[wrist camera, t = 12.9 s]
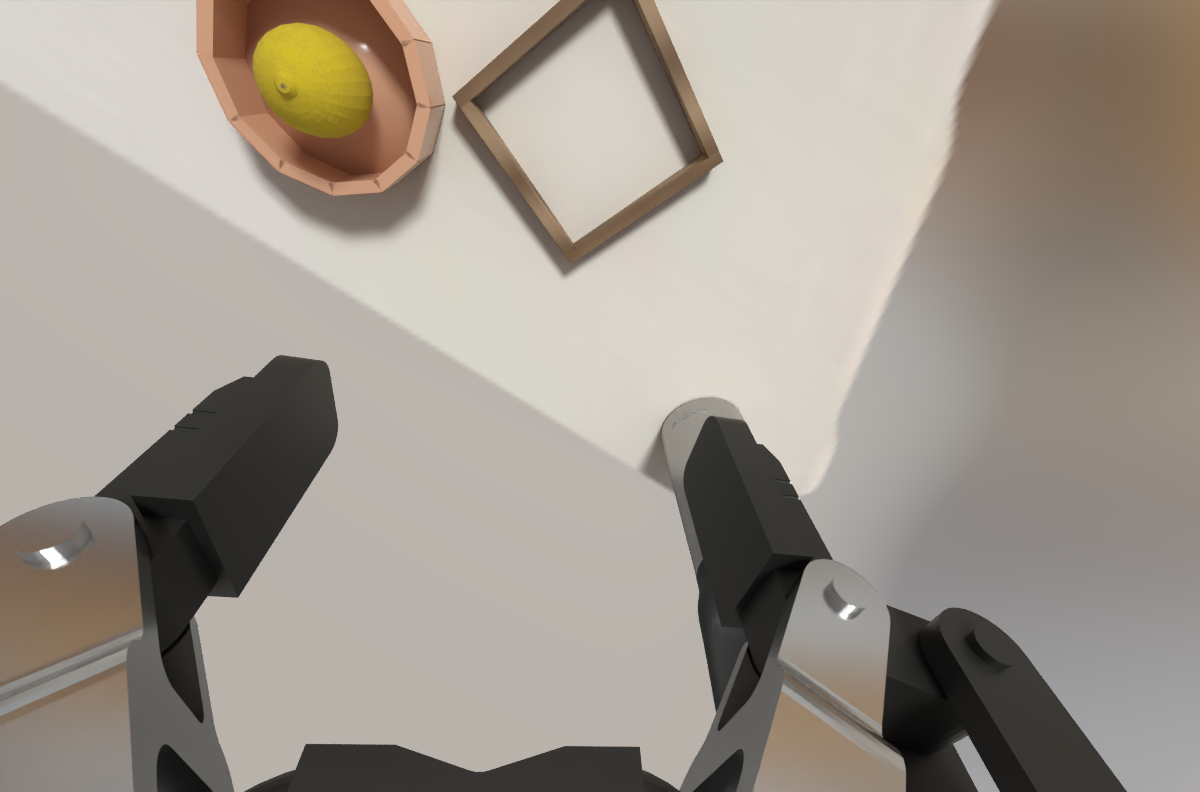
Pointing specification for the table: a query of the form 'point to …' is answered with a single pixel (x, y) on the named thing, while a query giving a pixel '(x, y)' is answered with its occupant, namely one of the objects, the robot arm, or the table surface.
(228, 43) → the bowl
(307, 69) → the lemon
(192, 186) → the table surface
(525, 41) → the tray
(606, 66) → the table surface
